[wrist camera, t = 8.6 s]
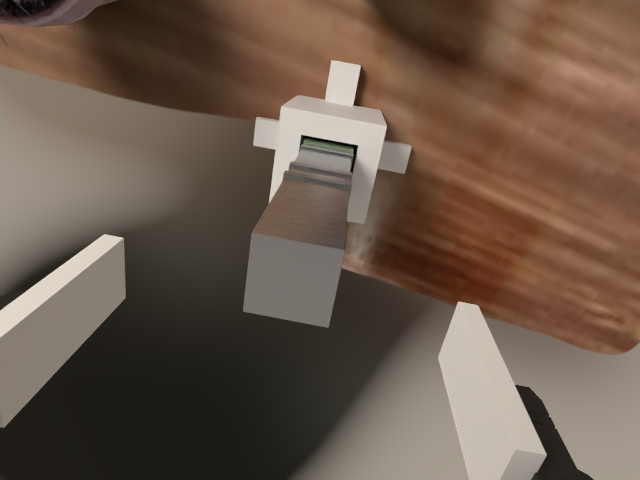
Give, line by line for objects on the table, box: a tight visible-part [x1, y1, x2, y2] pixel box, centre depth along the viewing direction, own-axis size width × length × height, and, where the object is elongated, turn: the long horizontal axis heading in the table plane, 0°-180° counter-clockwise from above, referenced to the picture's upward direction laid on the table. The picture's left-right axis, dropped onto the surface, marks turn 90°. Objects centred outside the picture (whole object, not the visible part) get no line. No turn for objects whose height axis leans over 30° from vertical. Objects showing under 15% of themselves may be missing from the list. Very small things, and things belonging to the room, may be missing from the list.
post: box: [243, 136, 354, 327], centre depth 30 cm, size 4×4×24 cm
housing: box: [253, 60, 412, 225], centre depth 43 cm, size 17×17×11 cm
